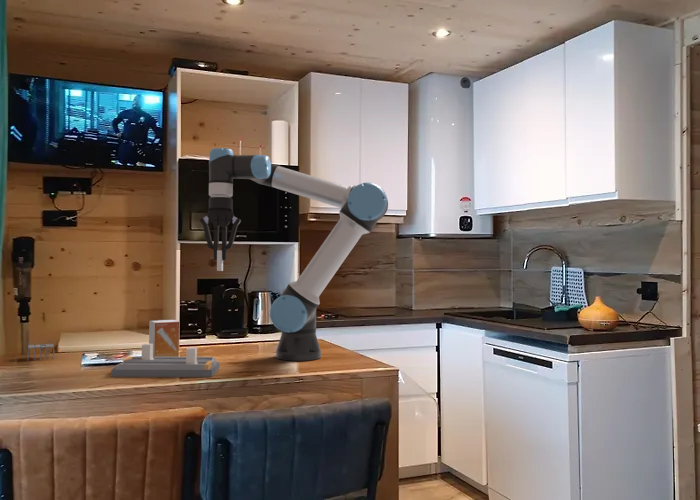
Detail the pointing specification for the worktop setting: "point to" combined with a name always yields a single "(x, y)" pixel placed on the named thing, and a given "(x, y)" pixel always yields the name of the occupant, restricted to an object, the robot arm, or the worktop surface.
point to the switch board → (165, 367)
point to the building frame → (41, 349)
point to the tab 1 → (147, 351)
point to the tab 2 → (191, 355)
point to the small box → (164, 338)
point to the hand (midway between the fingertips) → (219, 270)
